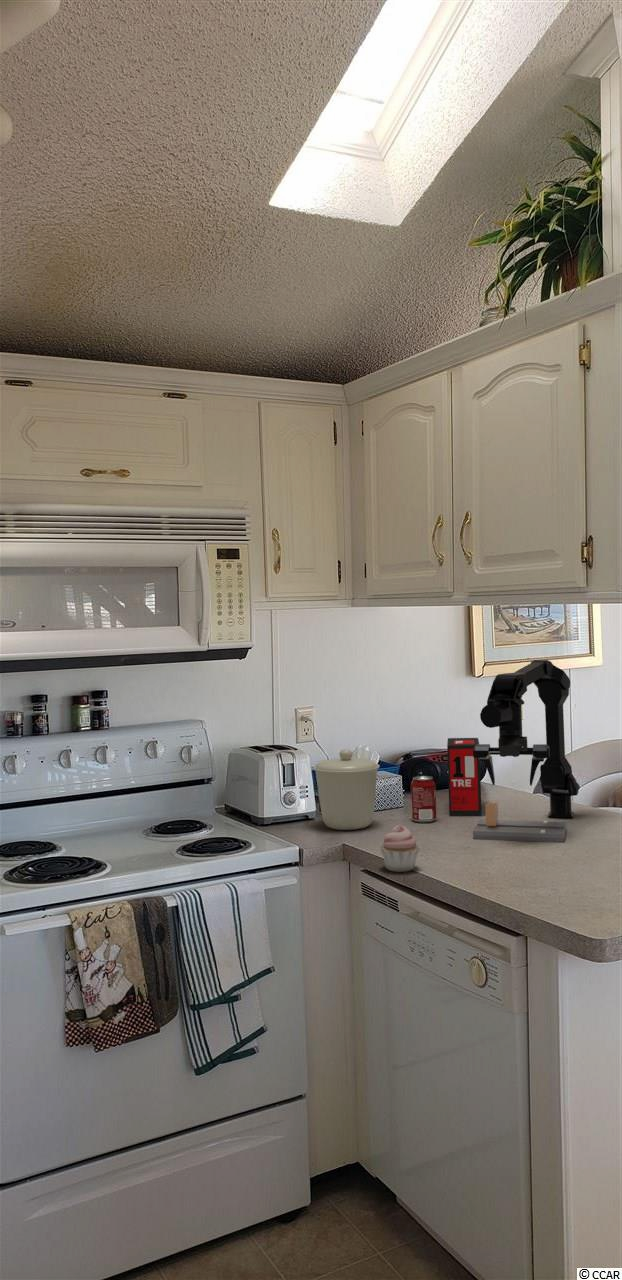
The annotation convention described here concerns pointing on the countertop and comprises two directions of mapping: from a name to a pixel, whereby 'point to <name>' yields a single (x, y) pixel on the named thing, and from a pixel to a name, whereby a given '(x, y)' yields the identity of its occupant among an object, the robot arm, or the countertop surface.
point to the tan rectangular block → (491, 813)
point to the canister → (347, 791)
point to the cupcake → (399, 850)
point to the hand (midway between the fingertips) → (512, 785)
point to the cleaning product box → (463, 777)
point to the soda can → (423, 799)
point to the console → (521, 831)
